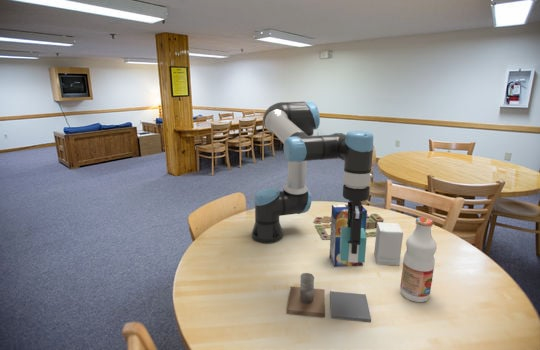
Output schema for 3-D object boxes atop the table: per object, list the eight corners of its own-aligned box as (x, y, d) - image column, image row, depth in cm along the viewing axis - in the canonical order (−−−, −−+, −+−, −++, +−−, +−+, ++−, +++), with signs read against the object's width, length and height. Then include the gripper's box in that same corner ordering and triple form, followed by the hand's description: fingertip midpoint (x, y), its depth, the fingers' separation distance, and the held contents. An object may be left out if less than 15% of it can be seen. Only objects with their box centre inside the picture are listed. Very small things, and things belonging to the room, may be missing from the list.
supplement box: (399, 266, 123) (403, 232, 119) (376, 264, 125) (379, 230, 121) (395, 255, 132) (399, 223, 128) (373, 253, 133) (376, 221, 129)
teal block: (364, 262, 92) (366, 238, 89) (340, 260, 93) (342, 236, 91) (362, 250, 98) (363, 228, 96) (339, 249, 99) (340, 226, 97)
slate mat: (331, 318, 96) (331, 315, 96) (330, 293, 107) (330, 291, 107) (371, 322, 94) (371, 319, 94) (365, 296, 105) (365, 294, 105)
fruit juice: (398, 283, 112) (407, 213, 105) (426, 288, 110) (437, 216, 102) (401, 300, 104) (410, 224, 96) (431, 305, 101) (443, 228, 93)
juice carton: (356, 256, 131) (360, 203, 125) (362, 265, 124) (367, 210, 117) (329, 257, 130) (331, 204, 124) (333, 267, 123) (336, 211, 117)
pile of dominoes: (367, 214, 175) (368, 205, 174) (391, 236, 149) (392, 226, 148) (308, 218, 171) (308, 209, 170) (322, 241, 145) (322, 230, 144)
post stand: (286, 313, 98) (287, 286, 95) (290, 290, 109) (290, 265, 107) (324, 317, 96) (326, 290, 93) (324, 293, 108) (325, 268, 105)
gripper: (375, 196, 79) (368, 274, 85) (365, 176, 98) (360, 240, 104) (345, 195, 80) (341, 272, 87) (341, 175, 99) (337, 239, 105)
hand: (351, 254), depth 95 cm, fingers closed on teal block, 7 cm apart
